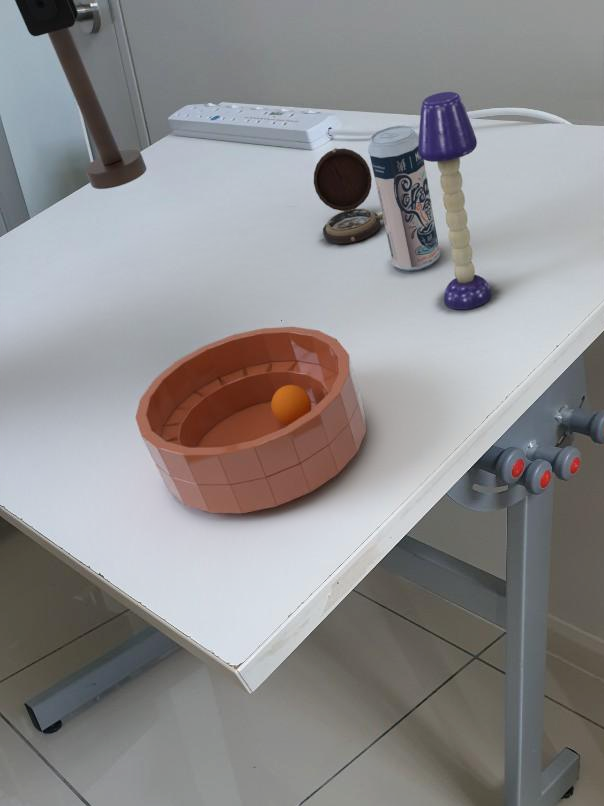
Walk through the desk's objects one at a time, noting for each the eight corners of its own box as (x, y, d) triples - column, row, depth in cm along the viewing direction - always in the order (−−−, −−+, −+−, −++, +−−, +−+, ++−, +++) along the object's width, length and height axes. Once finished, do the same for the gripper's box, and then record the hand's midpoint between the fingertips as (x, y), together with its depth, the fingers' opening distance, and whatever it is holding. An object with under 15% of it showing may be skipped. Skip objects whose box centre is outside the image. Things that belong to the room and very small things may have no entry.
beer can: (426, 275, 82) (402, 145, 74) (383, 272, 84) (355, 145, 76) (449, 251, 84) (428, 123, 76) (407, 248, 87) (382, 123, 79)
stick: (87, 194, 66) (-25, -56, 55) (96, 173, 69) (-8, -66, 58) (143, 180, 65) (42, -73, 55) (149, 160, 69) (55, -83, 58)
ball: (277, 436, 66) (265, 404, 64) (278, 414, 68) (267, 382, 66) (316, 428, 66) (305, 395, 64) (315, 406, 68) (305, 373, 66)
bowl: (155, 540, 61) (120, 474, 57) (179, 414, 72) (152, 352, 68) (373, 496, 60) (353, 426, 56) (363, 375, 71) (345, 309, 67)
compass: (325, 251, 90) (306, 181, 85) (324, 220, 96) (306, 153, 91) (401, 234, 89) (386, 162, 85) (395, 204, 95) (381, 135, 90)
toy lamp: (443, 288, 79) (409, 94, 68) (494, 279, 79) (468, 81, 68) (445, 314, 76) (409, 114, 65) (498, 305, 75) (471, 101, 64)
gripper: (-131, -316, 53) (17, 19, 66) (-213, -344, 42) (-14, 69, 54) (-12, -348, 54) (113, -8, 66) (-61, -385, 42) (102, 36, 54)
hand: (55, 25), depth 60 cm, fingers closed on stick
